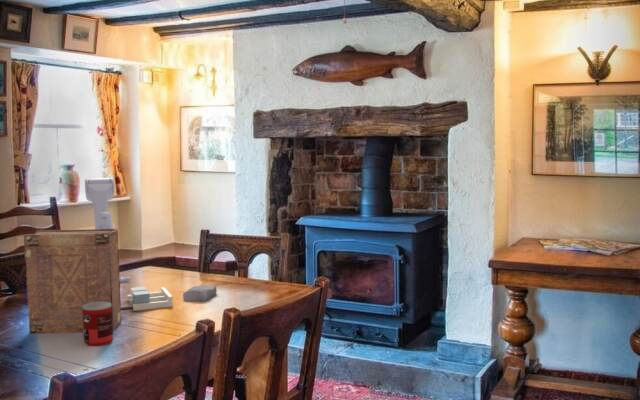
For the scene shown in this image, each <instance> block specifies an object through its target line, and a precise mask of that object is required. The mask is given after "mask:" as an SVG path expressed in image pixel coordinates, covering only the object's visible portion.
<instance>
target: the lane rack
mask: <svg viewBox="0 0 640 400" xmlns="http://www.w3.org/2000/svg"><path fill="white" fill-rule="evenodd" d="M160 290H161V291H155V292H149V294H150V303H141V304H133V299H132V300H131V294H128V295H127V296H126V297H127V298H126V299H127V302H129V306H133V308H132V311H133V312H134V311H135V312H136V311H143V310H144V311H145V310H152V309H154V310H155V309H161V308H170V307H171V308H172V307H174V304H173V303H174V302H173V301H174V300H173V298H174V297H173V295H172V294H171V293H170V292H169V291H168V290H167V289H166V287H160Z"/></svg>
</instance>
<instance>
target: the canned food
mask: <svg viewBox="0 0 640 400" xmlns="http://www.w3.org/2000/svg"><path fill="white" fill-rule="evenodd" d="M82 310H83V329H84V332H83V341H84V344H85V345H87V346H89V347H100V346H105V345H106V346H107V345H109V344H112V342H113V341H114V330H113V325H112V305H111V303H110V302H104V301H100V302H91V303H87V304H84V305H83V308H82Z"/></svg>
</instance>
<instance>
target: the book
mask: <svg viewBox="0 0 640 400" xmlns="http://www.w3.org/2000/svg"><path fill="white" fill-rule="evenodd" d="M118 231H119V230H118V229H116V228H114V229H95V228H93V229H46V230H36V231H35V233H34V234H24V235H23V246H24V247H23V248H24V249H23V250H24V262H25V277H26V295H27V296H26V297H27V313H28V329H29V333H30V334H57V333H58V334H63V333H65V334H66V333H84V329H83V310H82V308H83V305H84V304H87V303H91V302H100V301H104V302H110V303H111V305H112V325H113V331H115V330H116V329H117V328H118V327H119V326H120V324H121V323H122V310H121V307H122V304H121V303H122V302H121V284H120V277H121V276H120V256H119V253H120V252H119V232H118Z"/></svg>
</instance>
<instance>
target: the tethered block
mask: <svg viewBox="0 0 640 400" xmlns="http://www.w3.org/2000/svg"><path fill="white" fill-rule="evenodd" d="M132 293H133V304H141V303H150V294H149V293H150V292H149V291H137V292H132ZM131 309H133V306H130V305H128V306H121V311H122V310H131Z"/></svg>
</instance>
